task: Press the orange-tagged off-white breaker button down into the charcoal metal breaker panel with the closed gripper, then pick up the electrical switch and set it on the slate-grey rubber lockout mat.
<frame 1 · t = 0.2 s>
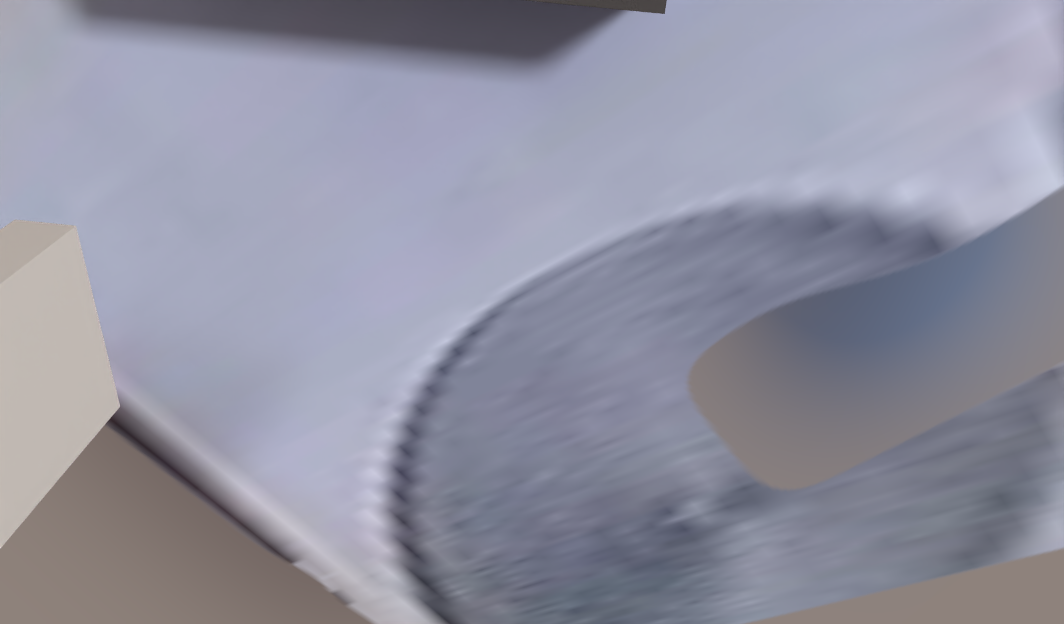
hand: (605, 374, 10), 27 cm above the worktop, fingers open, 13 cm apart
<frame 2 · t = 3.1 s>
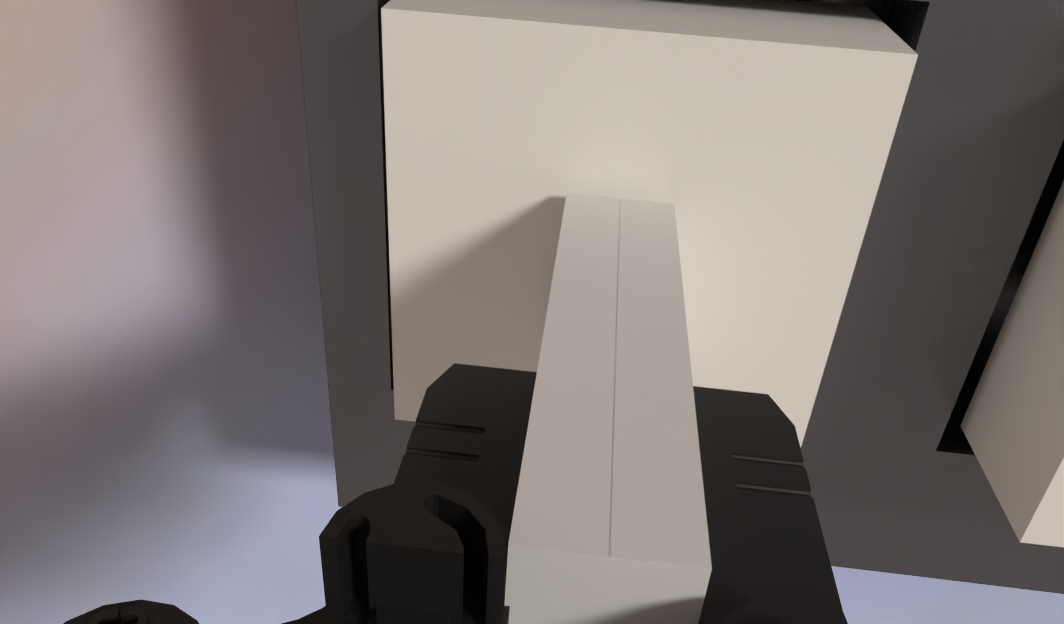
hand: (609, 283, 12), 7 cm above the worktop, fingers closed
breaker panel: (861, 146, 18), on the worktop
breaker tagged: (616, 224, 14), point 5 cm above the worktop, slide at 1.2 cm, touching gripper
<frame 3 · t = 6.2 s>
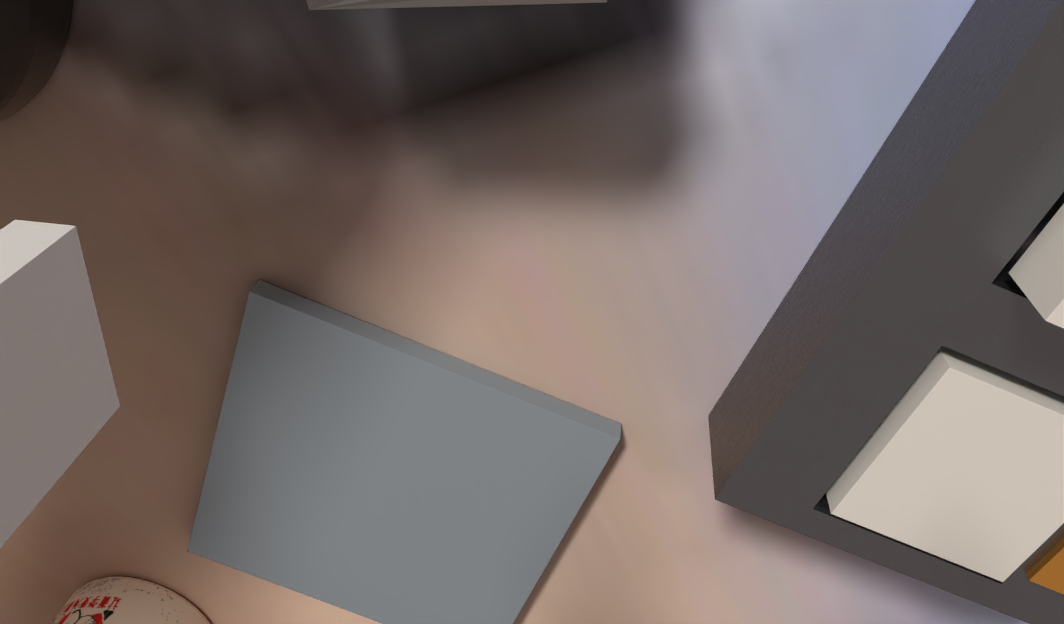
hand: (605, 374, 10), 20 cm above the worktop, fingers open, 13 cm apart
breaker panel: (1017, 285, 30), on the worktop
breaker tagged: (965, 455, 29), point 4 cm above the worktop, slide at 2.1 cm
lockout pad: (390, 485, 39), on the worktop
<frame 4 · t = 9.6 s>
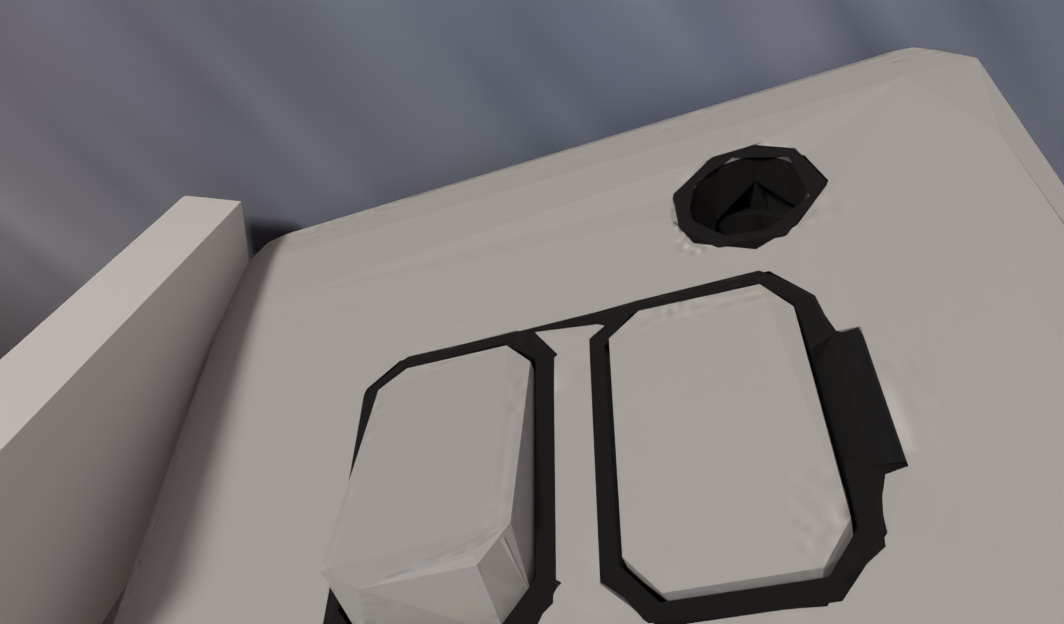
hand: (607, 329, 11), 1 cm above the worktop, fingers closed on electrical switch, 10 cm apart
electrical switch: (640, 304, 12), on the worktop, touching gripper
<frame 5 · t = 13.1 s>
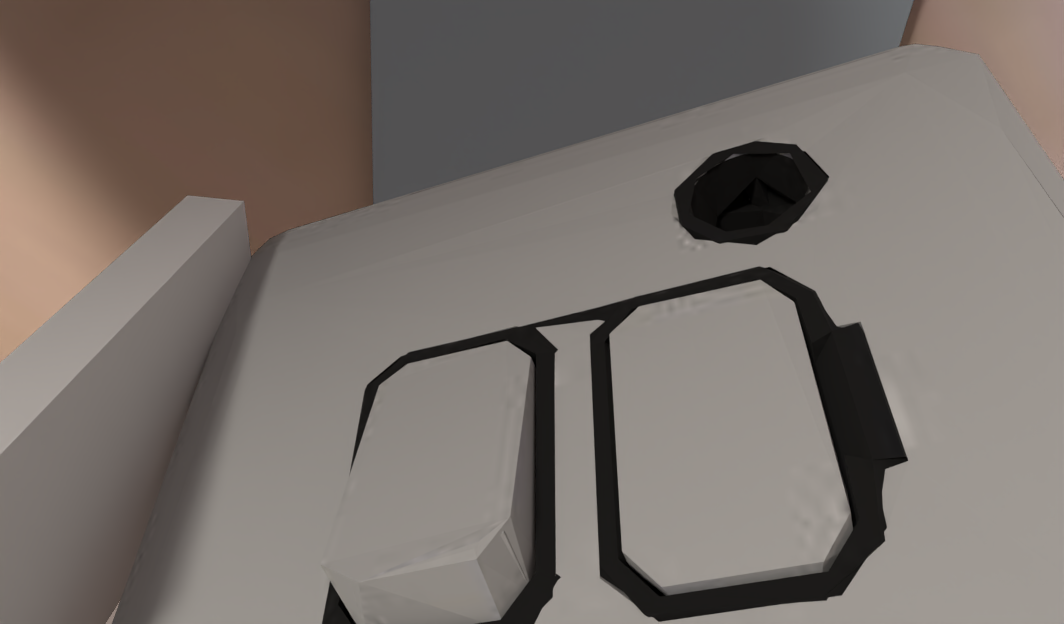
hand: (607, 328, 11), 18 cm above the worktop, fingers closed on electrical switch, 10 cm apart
electrical switch: (641, 301, 12), point 17 cm above the worktop, touching gripper
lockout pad: (609, 160, 29), on the worktop
when the fingers open (3 cm above the worktop, at t = 16.9 s): electrical switch drops 1 cm, resting on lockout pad.
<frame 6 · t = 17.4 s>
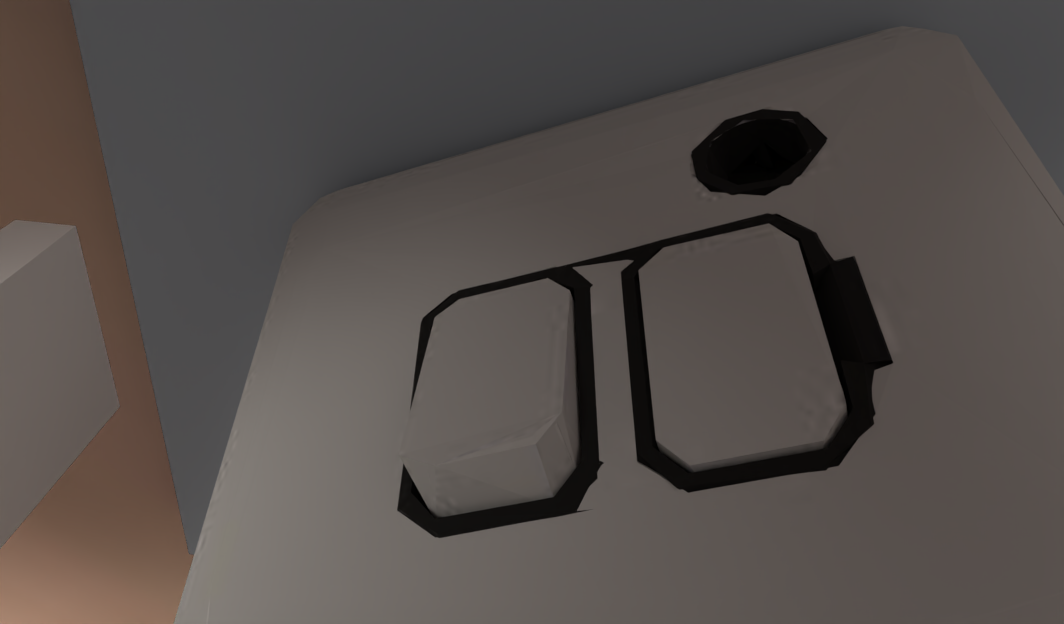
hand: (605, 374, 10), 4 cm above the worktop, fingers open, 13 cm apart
electrical switch: (653, 260, 13), point 1 cm above the worktop, touching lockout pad
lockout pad: (612, 227, 14), on the worktop
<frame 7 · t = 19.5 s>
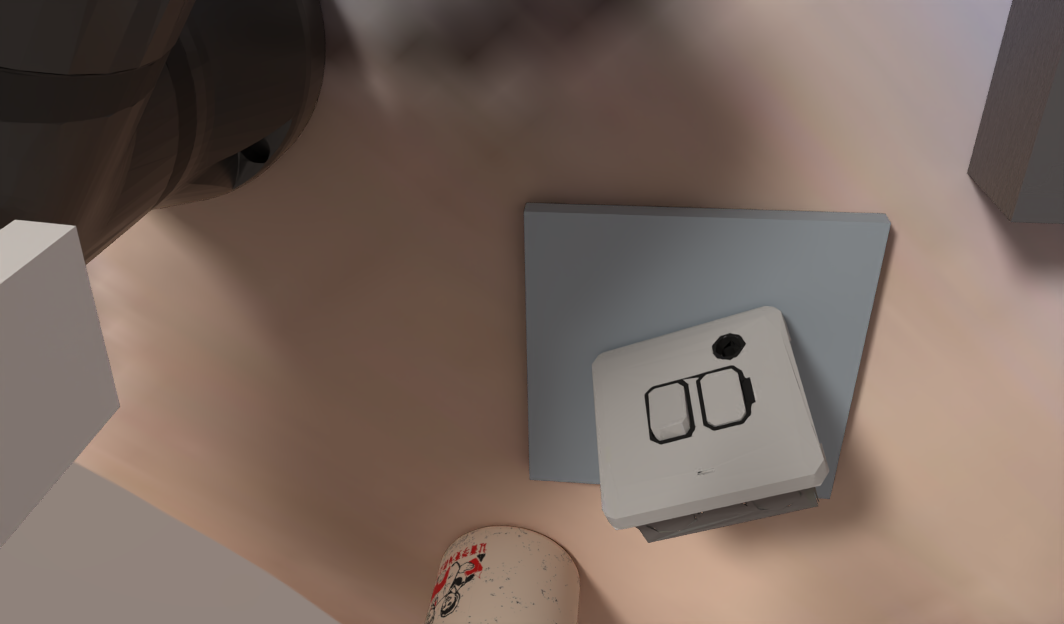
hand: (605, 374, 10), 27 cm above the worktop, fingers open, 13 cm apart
teacup with lid: (502, 585, 53), on the worktop
electrical switch: (702, 366, 42), point 1 cm above the worktop, touching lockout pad
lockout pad: (687, 355, 42), on the worktop
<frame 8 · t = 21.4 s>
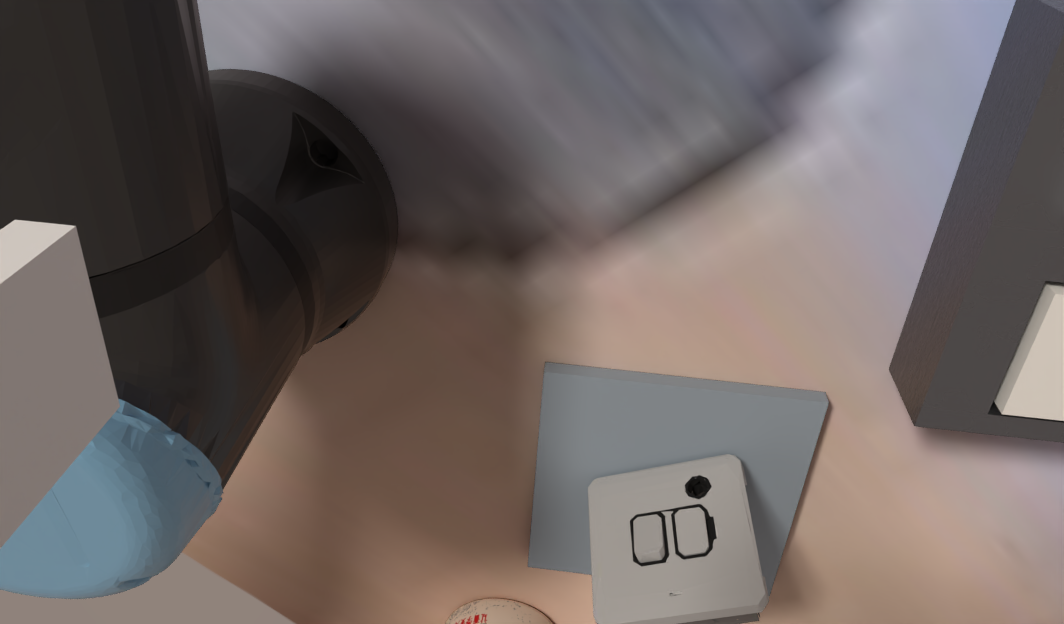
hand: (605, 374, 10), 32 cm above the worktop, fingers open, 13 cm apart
electrical switch: (675, 492, 52), point 1 cm above the worktop, touching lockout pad
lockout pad: (664, 481, 53), on the worktop
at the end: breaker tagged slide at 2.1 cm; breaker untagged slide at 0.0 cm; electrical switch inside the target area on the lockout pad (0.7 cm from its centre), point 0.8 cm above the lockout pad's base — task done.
